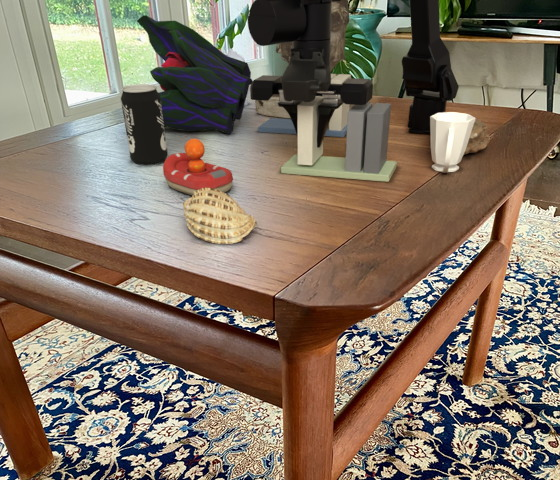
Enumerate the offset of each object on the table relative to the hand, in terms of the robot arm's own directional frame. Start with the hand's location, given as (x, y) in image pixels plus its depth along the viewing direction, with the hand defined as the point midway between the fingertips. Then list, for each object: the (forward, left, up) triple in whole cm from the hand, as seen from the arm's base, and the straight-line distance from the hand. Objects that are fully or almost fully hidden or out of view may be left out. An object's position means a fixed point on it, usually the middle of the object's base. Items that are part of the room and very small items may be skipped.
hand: (310, 146), depth 97 cm
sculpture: (+12, -41, -4) cm, 43 cm away
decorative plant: (+33, -20, -4) cm, 39 cm away
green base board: (-5, 0, -4) cm, 6 cm away
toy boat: (+14, +15, -4) cm, 21 cm away
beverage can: (+29, +3, -4) cm, 29 cm away
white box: (0, 0, -2) cm, 2 cm away
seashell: (+4, +30, -4) cm, 30 cm away
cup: (-22, -4, -4) cm, 23 cm away
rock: (-23, -17, -4) cm, 29 cm away
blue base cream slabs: (+8, -25, -4) cm, 26 cm away
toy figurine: (+31, -44, -4) cm, 54 cm away
